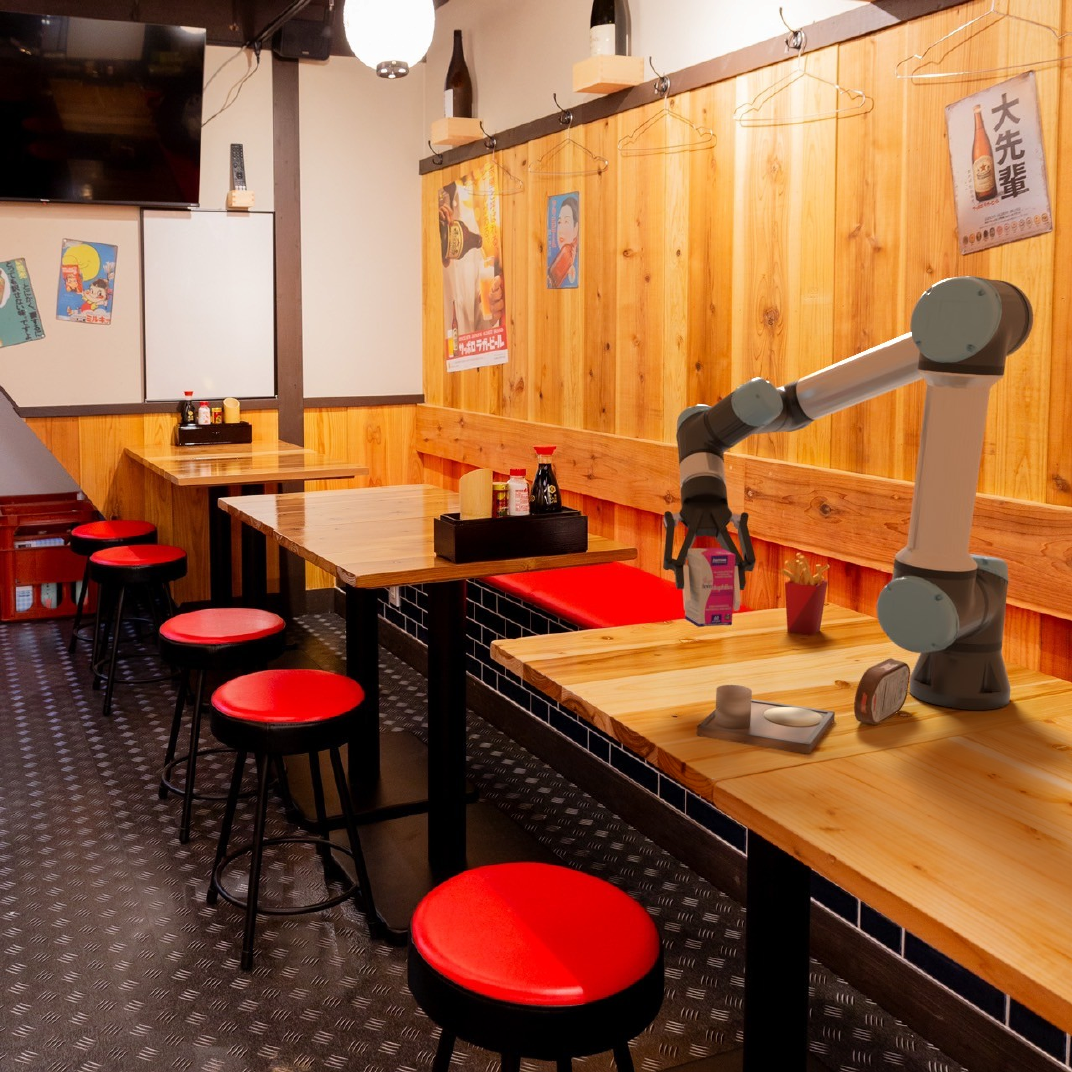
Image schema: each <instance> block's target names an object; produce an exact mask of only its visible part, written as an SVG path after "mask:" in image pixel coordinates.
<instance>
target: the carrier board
mask: <svg viewBox="0 0 1072 1072" xmlns="http://www.w3.org/2000/svg"><path fill="white" fill-rule="evenodd" d="M715 689H716V690H715V691H716V692H715V693H716V694H715V695H716V696H715V709H714V710H713V711H712V712H711V713H709V715H707V716H706V717H705V718H703V720H702V721H700V723H698V724H697V726H696V736H697V737H705V738H709V739H710V738H711V739H717V740H723V741H729V742H734V743H740V744H746V745H752V746H753V745H754V746H758V747H762V748H763V747H764V748H771V749H776V750H782V751H788V752H794V753H799V754H804V753H805V755H810V754H811V752H812V751H813V750H814V748H815V747H816V746H815V745H818V744H819V742H820V740H821V739H822V738H823V736H824V735H825V734H826V732H827V731H828V730H829V729H830V727H831V726H832V724H833V723H834V722H835V716H836V713H835V712H836V711H832V710H825V709H819V708H812V707H805V706H799V705H793V704H787V703H786V704H785V703H780V702H773V701H768V700H761V699H753V698H752V696H753V690H752V689H751V688H749V687H746V686H743V685H738V684H737V685H736V684H722V685H719V686H717V687H716V688H715ZM832 722H833V723H832ZM827 729H828V730H827ZM824 733H825V734H824ZM821 737H822V738H821ZM812 749H813V750H812ZM809 753H810V754H809Z"/></svg>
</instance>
